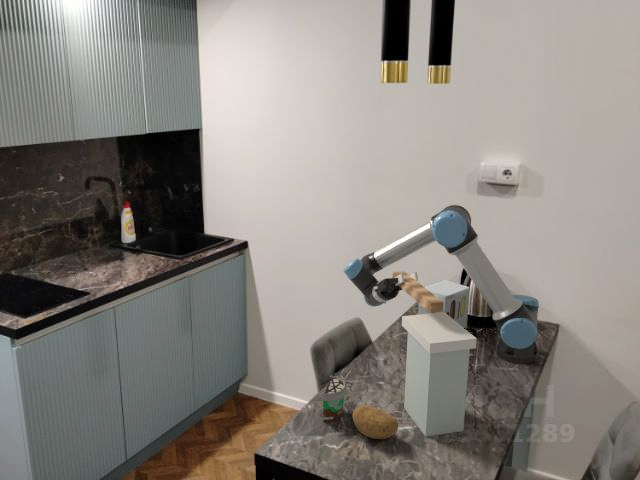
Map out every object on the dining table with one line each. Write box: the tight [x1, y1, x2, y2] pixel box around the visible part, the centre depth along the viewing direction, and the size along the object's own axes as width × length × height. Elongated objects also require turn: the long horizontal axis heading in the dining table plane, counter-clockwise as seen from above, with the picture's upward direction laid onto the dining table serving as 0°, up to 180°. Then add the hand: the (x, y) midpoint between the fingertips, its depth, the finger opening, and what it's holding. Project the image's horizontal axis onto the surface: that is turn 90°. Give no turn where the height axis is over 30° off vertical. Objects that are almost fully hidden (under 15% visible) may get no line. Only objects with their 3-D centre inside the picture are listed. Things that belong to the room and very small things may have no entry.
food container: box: [322, 375, 348, 423], centre depth 182 cm, size 12×6×10 cm, turn 168°
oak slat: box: [391, 270, 444, 313], centre depth 187 cm, size 30×4×3 cm, turn 15°
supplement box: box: [417, 279, 470, 329], centre depth 244 cm, size 17×13×18 cm
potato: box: [352, 404, 399, 440], centre depth 171 cm, size 10×14×8 cm
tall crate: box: [401, 312, 478, 438], centre depth 177 cm, size 20×14×30 cm
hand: (409, 277), depth 191 cm, fingers closed on oak slat, 4 cm apart
